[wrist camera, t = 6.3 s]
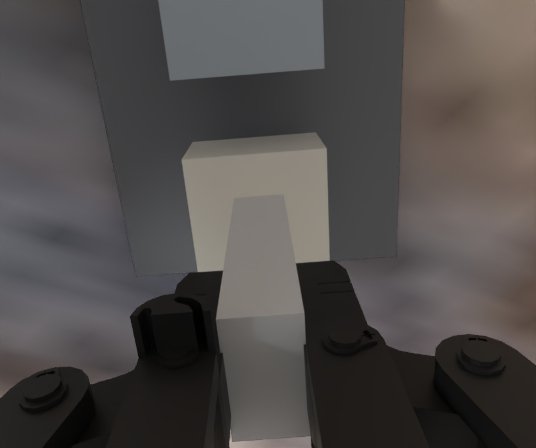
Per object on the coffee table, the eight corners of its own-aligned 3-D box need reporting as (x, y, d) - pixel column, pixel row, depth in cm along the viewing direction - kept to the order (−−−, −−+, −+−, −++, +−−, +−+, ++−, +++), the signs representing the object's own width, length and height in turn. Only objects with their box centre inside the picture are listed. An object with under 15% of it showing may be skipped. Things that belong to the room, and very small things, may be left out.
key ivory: (212, 233, 21) (199, 287, 16) (199, 131, 19) (181, 159, 15) (313, 225, 21) (330, 277, 16) (309, 123, 19) (326, 148, 15)
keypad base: (145, 257, 23) (135, 276, 21) (29, -353, 15) (-3, -409, 13) (385, 239, 23) (396, 256, 21) (398, -384, 15) (418, -445, 13)
